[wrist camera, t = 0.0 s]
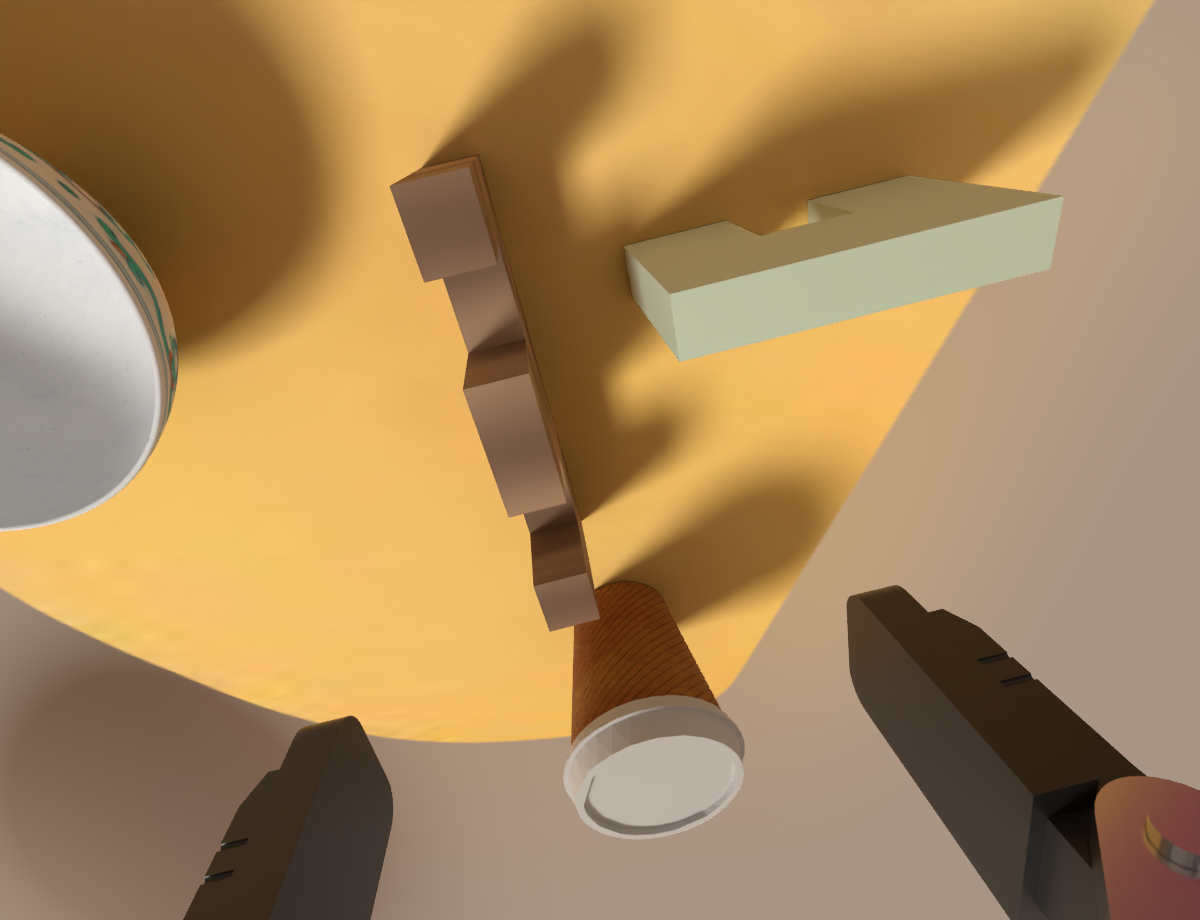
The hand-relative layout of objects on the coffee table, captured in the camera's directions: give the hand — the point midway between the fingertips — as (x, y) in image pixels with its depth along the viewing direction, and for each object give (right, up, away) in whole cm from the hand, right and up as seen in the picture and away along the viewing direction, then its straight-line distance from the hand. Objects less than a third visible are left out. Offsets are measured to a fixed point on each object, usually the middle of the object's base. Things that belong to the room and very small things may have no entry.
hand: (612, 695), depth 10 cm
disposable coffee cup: (+1, -7, +30) cm, 31 cm away
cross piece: (+8, +15, +19) cm, 25 cm away
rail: (-5, +8, +21) cm, 23 cm away
